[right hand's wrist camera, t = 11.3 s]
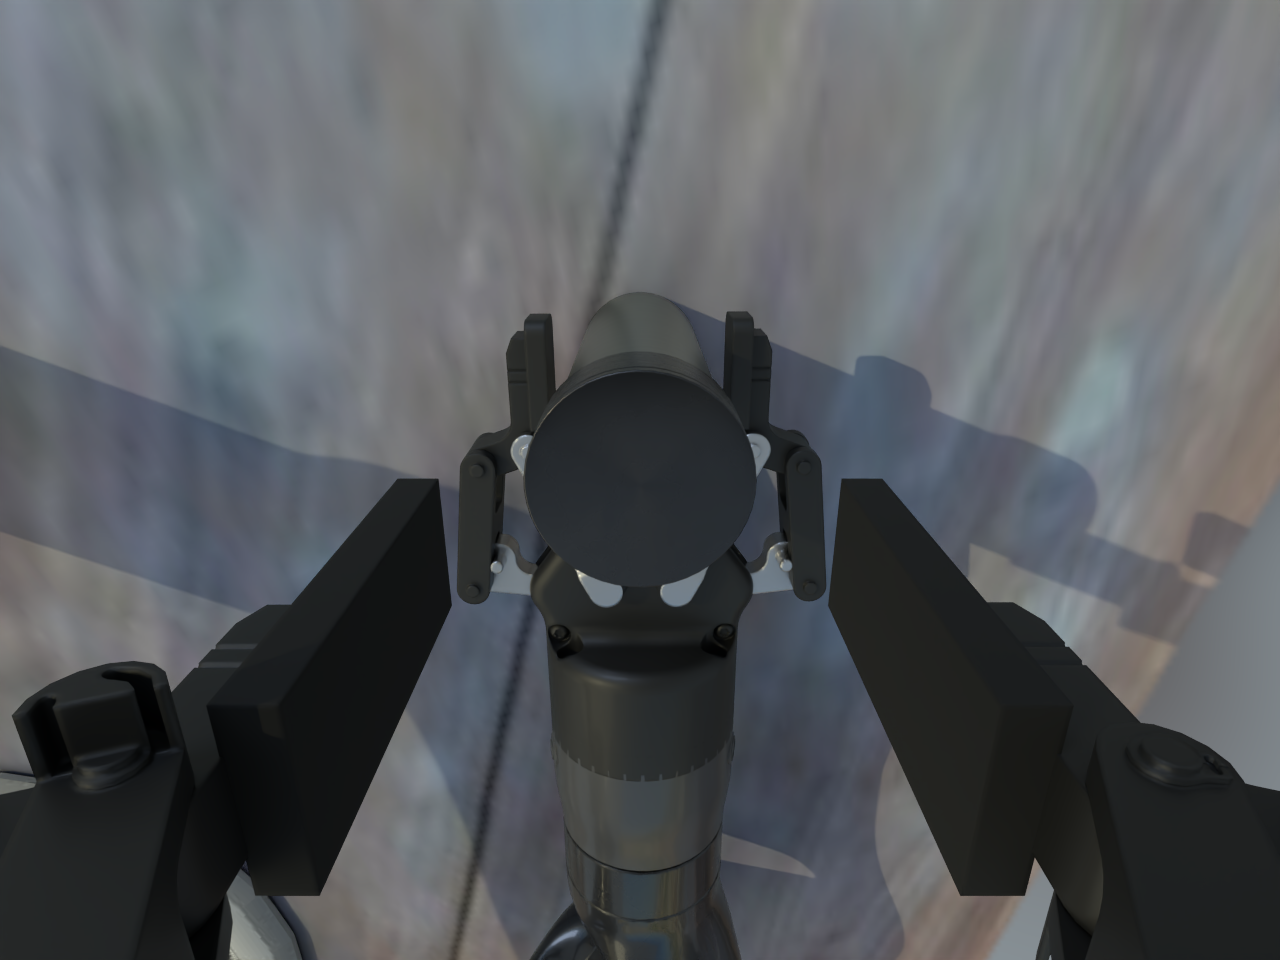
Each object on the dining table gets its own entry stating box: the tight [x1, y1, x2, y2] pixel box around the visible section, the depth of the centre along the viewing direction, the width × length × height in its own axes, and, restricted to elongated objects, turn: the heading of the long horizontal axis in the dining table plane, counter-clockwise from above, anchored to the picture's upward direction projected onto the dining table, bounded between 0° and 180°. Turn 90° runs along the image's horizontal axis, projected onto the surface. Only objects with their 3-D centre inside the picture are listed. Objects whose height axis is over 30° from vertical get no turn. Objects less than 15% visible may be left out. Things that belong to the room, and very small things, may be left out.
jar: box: [568, 292, 712, 378], centre depth 25 cm, size 5×5×15 cm
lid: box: [523, 351, 757, 587], centre depth 18 cm, size 5×5×2 cm
